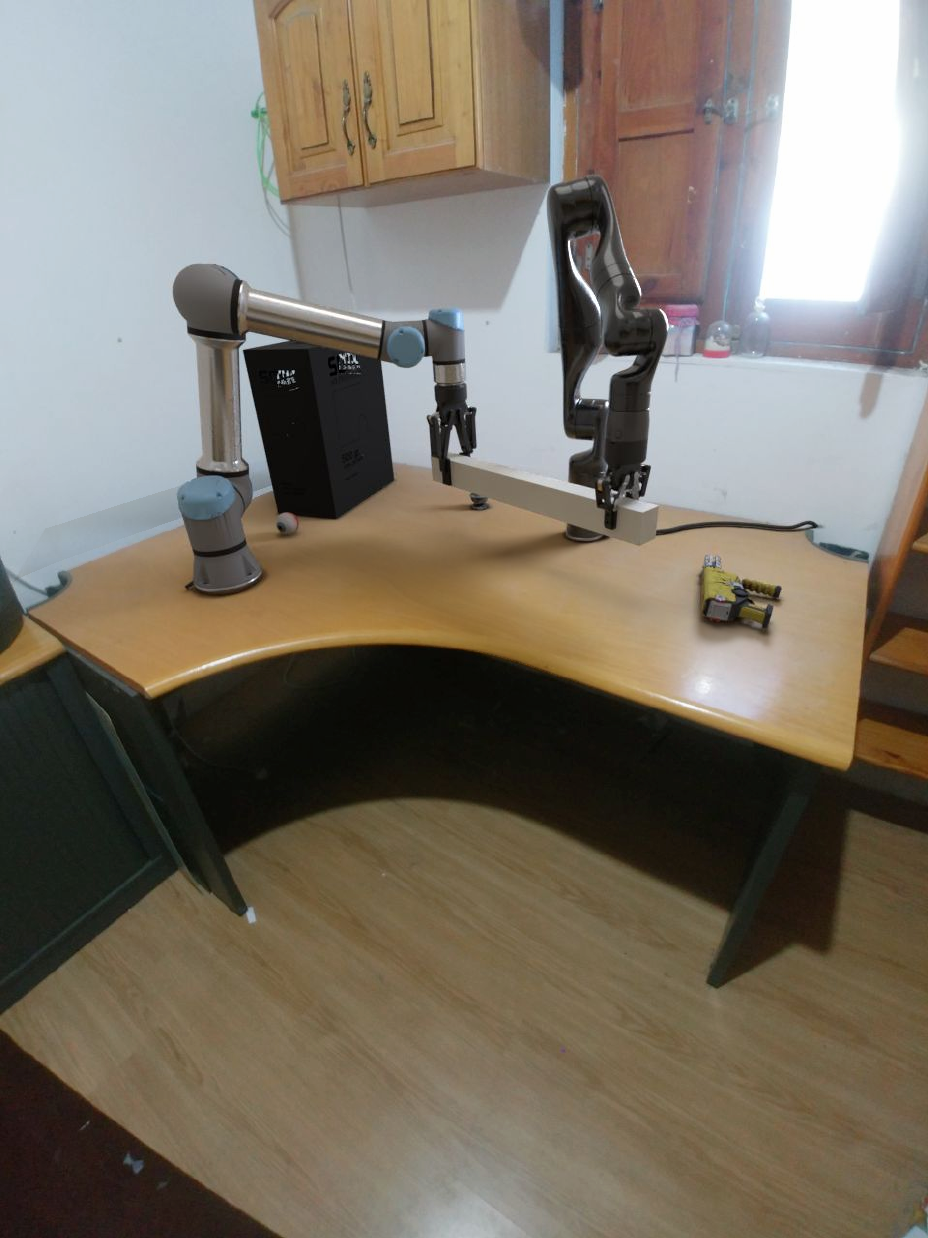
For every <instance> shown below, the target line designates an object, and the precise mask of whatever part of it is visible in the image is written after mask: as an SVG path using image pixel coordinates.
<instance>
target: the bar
mask: <svg viewBox="0 0 928 1238" xmlns="http://www.w3.org/2000/svg"><path fill="white" fill-rule="evenodd" d="M447 458H449V459H450V465H451V480H452V485H451V486H450V487H452V488H455V489H459V490H462V491H465V492H468V493H474V494H477V495H481V496H484V497H487V498H488V499H490V500H493V501H497V502H500V503H502V504H506V505H509V506H513V507H514V508H518V509H522V510H524V511H529V512H531V513H534V514H537V515H541V516H544V517H547V518H550V519H553V520H556V521H559V522H563V523H565V524H567V523H569V524H572V525H575V526H578V527H581V528H584V529H588V530H591V531H594V532H597V533H600V534H603V535H605V536H607V537H610V538H613V539H616V540H619V541H623V542H625V543H629V544H632V545H634V546H635V545H636V546H637V547H638V546H639V547H640V546H643V545H645V544H647V543H649V542H651V541H653V540H655V539H656V536H657V534H656V530H657V527H658V518H659V508H660V505H658V504H656V503H655V504H654V503H650V502H646V501H643V500H640V499H639V500H635V499H631V498H628V497H625V496H624V495H623V498H622V499H621V500H620V501H619V504H618V507H617V510H616V511H617V522H616V529H614V530H610V529H607V528H605V526H604V516H605V510H604V509H601V508H597V504H596V495H595V489H592V488H589V487H585V486H581V485H577V484H573V483H569V482H568V481H565V480H560V479H557V478H553V477H549V476H545V475H542V474H537V473H533V472H530V471H526V470H522V469H517V468H514V467H510V466H506V465H502V464H499V463H495V462H491V461H487V460H483V459H479V458H475V457H471V456H470V457H468V456H464V455H460V454H459V453H456V452H452V451H448V456H447ZM430 461H431V463H430V464H431V474H432V481H434V482H437V483H440V484H443V481H442V472H440V469H439V459H438V458H435V457H432V456H431V455H430ZM602 500H603V502H604V499H602ZM613 500H614V498H613V497H612V498H611V504H613Z"/></svg>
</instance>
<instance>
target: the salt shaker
mask: <svg viewBox="0 0 928 1238" xmlns="http://www.w3.org/2000/svg"><path fill="white" fill-rule="evenodd" d="M469 497H470V500H471V502H472V504H471V506H470V508H471V509H473V510H486V509H488V508H489V507H490V505H489V504H488V503H487V502H488V500H489V498H487V497H484V496H481V495H477V494H474V493H471V492H469Z"/></svg>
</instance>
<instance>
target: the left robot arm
mask: <svg viewBox="0 0 928 1238" xmlns="http://www.w3.org/2000/svg"><path fill="white" fill-rule="evenodd" d="M172 298H173V302H174V305H175V308H176V309H177V311H178V313H179V314H180V316H181V317H182V318H183V319H184V320H185V321H186V332H187V335H188V336H189V338H191V340H192V341H193V342H194V343H195V351H196V368H197V384H198V386H197V387H198V401H199V402H198V403H199V419H200V436H201V450H202V451H201V452H202V455H201V456H200V457H199V458H198V459H196V461H195V469H196V477H195V478H192V479H191V480H190V481H186V482H184V483H182V485H180V487H178V489H177V492H176V499H177V506H178V510H179V512H180V514H181V517H182V521H183V524H184V527H185V531H186V533H187V537H188V540H189V543H190V548H191V549H192V554H193V569H192V570H193V571H192V580H191V581H190V582H188V583H187V584H186V585H184V589H186V590H190V588H192V587H194V590H195V591H196V592H197V593H199V594H201V595H204V596H226V595H232V594H236V593H240V592H243V591H245V590H248V589H250V588H252V587H254V586H255V585H257V584H258V583H259V582H260V581H262V579H263V576H264V574H263V569H262V566H261V565H260V562H259V561H258V560H257V558H256V557H255V555H254V554H253V552H252V550H251V548H250V547H249V545H248V542H247V539H246V534H245V529H244V527H243V522H242V518H243V516H244V514H245V513H246V510H247V509H248V508H249V506H250V505H251V503H252V501H253V500H252V499H253V497H254V487H253V482H252V480H251V478H250V464H249V463H248V462H247V460H245V459H244V457H243V445H242V443H243V442H242V411H241V380H240V378H241V375H240V372H241V371H240V348H241V347H242V346H243V345H244V344H245V342H247V333H252V334H253V333H254V334H258V335H262V336H268V337H272V338H277V339H281V340H285V341H294V342H299V343H303V344H308V345H313V346H317V347H322V348H326V349H331V350H336V351H340V352H345V354H346V353H347V354H348V355H350V354H354V355H359V356H363V357H368V358H372V359H377V360H380V361H381V362H385V363H390V364H393V365H395V366H396V367H399V368H401V369H402V368H403V369H411V368H414V367H416V366H417V365H419V363H420V362H421V361H422V360H423V358H429V357H431V362H432V363H431V364H432V374H433V382H434V383H435V385H434V386H433V390H434V401H435V403H436V408H435V412H434V413H432V414H427V415H426V421H427V423H428V426H429V428H428V429H429V442H430V443H429V444H430V457H431V456H432V457H435V458H438V459H439V469H440V472H442V481H443V483H442V485H445V486H448V487H452V486H451V485H452V480H451V465H450V459H449V458H447V456H448V452H449V447H450V439H451V431H452V430H453V428H455V431H456V435H457V439H458V442H459V446H460V450H461V452H458V454H460V455H464V456H468V457H471V454H473V453H474V450H475V449H477V445H478V444H477V443H478V442H477V429H476V427H477V425H476V416H477V407H476V406H470V405H468V404H467V399H468V386H467V383H466V381H467V366H466V347H465V345H466V344H465V328H464V327H465V326H464V317H463V312H462V310H461V309H460V308H459V307H439V308H431V309H430V310H429V311H428V317H427V318H425V319H422V320H421V319H420V320H401V321H392V320H391V321H390V320H384V319H383V318H382V319H381V318H377V317H373V316H368V315H364V314H361V313H356V312H351V311H348V310H345V309H344V310H343V309H339V308H335V307H332V306H331V307H330V306H327V305H323V304H318V303H315V302H310V301H306V300H302V299H297V298H294V297H289V296H285V295H280V294H276V293H272V292H267V291H264V290H260V289H256V288H252V287H251V286H250V285H249V283H248V282H247V281H246V280H243V279H241V278H240V277H239V276H238V275H236V274H235V272H233V271H232V270H230V269H229V268H227V267H225V266H223V265H219V264H216V263H192V264H189V265H187V266H185V267H183V268H182V269H181V270H179V272H178V273H177V275H176V276H175V278H174V280H173V283H172Z"/></svg>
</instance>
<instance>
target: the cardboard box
mask: <svg viewBox="0 0 928 1238" xmlns="http://www.w3.org/2000/svg"><path fill="white" fill-rule="evenodd" d="M242 353H243V358H244V362H245V368H246V372H247V376H248V381H249V386H250V391H251V395H252V400H253V404H254V409H255V410H254V411H255V414H256V418H257V423H258V428H259V432H260V437H261V441H262V447H263V451H264V456H265V461H266V465H267V470H268V474H269V478H270V483H271V489H272V492H273V498H274V502H275V506H276V511H277V514H279V515H280V514H282V513H285V512H288V513H292V514H294V515H295V516H301V517H302V516H304V517H314V518H323V519H335V520H336V519H339V518H340V517H342V516H343V515H344V514H346V513H347V512H349V511H350V510H352V509H353V508H355V507H357V506H358V505H359V504H360V503H362V502H364V501H365V500H367V499H368V498H370V497H371V496H372V495H374V494H375V493H377V492H378V491H380V490H381V489H383V488H384V487H386V486H387V485H389V484H391V483H392V482H393V481H394V480H395V473H394V463H393V455H392V447H391V437H390V429H389V418H388V411H387V401H386V392H385V384H384V376H383V375H384V374H383V364H382V361H380V360H377V359H372V358H368V357H363V356H359V355H354V354H348V353H345V352H340V351H336V350H331V349H326V348H322V347H317V346H313V345H308V344H303V343H299V342H294V341H290V340H285V341H281V342H276V343H270V344H266V345H259V346H255V347H251V348H250V347H249V348H245V349H242ZM341 356H342V357H341ZM343 357H344V358H343ZM354 359H355V361H354ZM356 362H357V363H356ZM283 372H284V373H283ZM287 373H288V374H287Z"/></svg>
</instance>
